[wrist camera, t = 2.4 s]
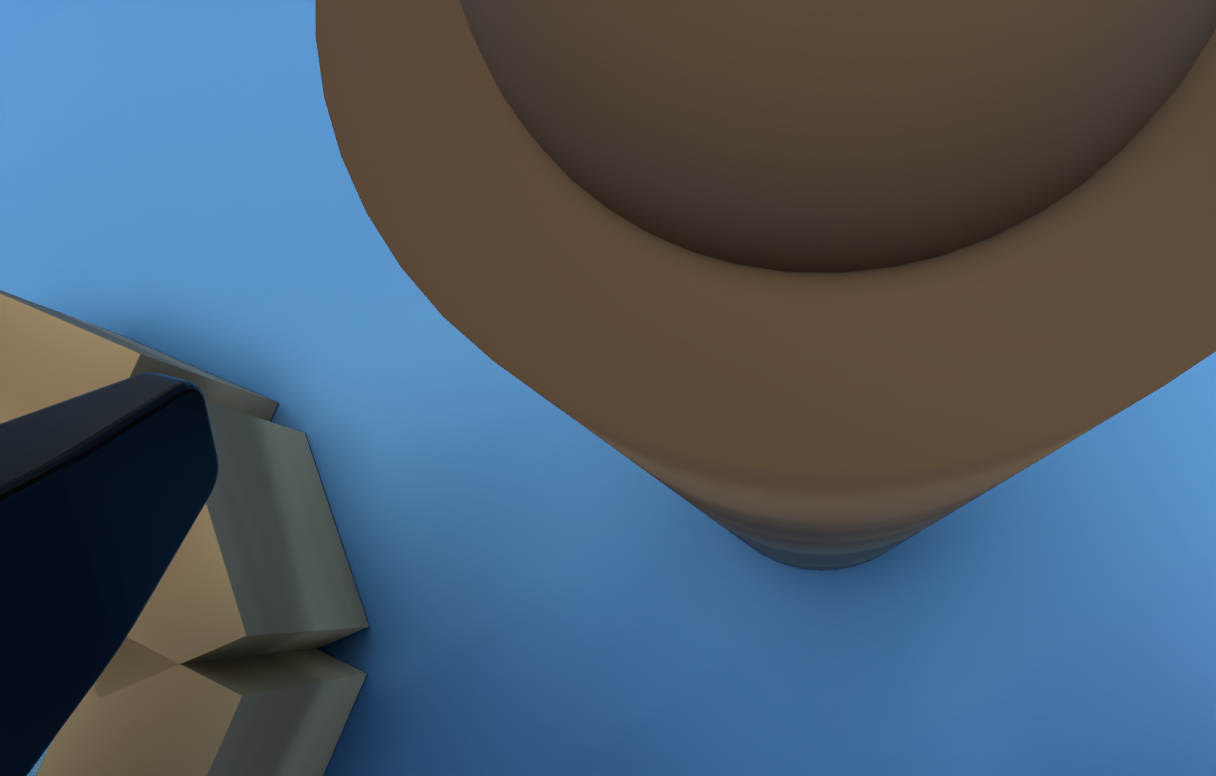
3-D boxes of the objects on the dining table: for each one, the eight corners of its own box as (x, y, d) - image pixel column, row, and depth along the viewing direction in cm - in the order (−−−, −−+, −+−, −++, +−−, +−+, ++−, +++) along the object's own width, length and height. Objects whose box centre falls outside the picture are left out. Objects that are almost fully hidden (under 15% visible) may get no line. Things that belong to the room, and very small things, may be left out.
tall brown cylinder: (978, 515, 16) (2478, -200, 2) (757, 606, 17) (320, 697, 2) (877, 305, 17) (1245, -1414, 2) (669, 396, 18) (-101, -641, 3)
